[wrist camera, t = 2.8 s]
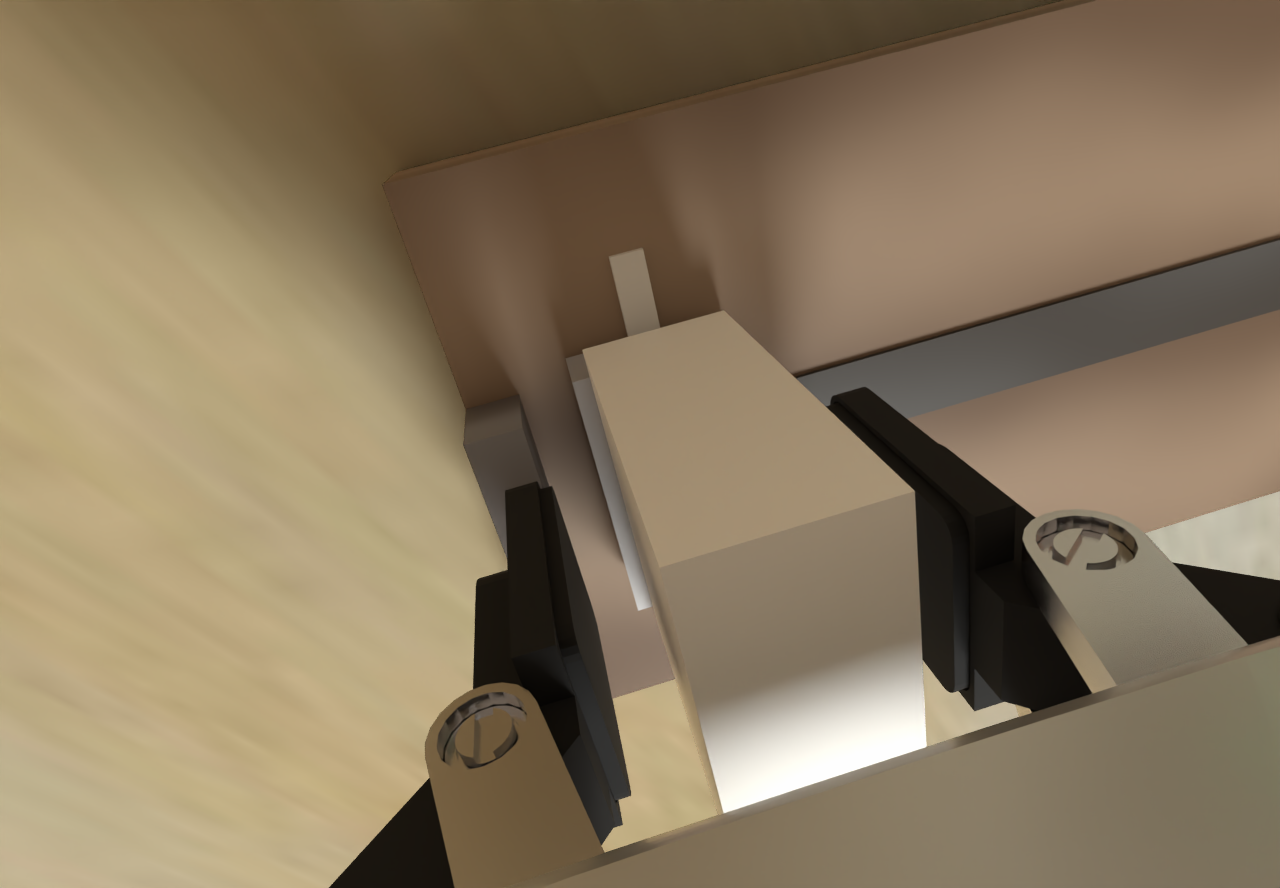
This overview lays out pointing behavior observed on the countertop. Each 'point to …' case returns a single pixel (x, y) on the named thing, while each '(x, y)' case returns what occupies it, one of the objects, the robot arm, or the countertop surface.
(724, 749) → the block
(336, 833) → the countertop surface
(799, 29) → the countertop surface
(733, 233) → the slider board
